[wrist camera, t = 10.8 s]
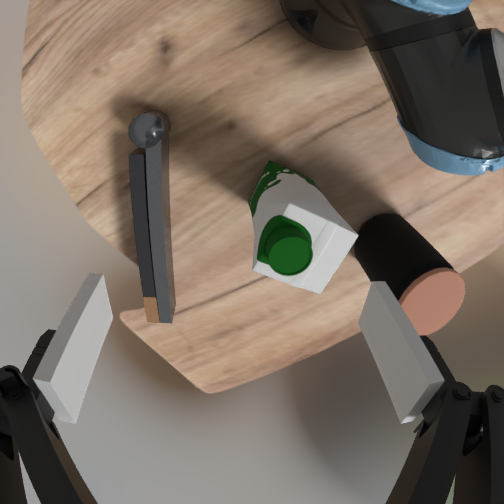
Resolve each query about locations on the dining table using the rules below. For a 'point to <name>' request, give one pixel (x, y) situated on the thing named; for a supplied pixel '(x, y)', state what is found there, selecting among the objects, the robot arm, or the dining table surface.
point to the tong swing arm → (143, 231)
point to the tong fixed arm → (158, 203)
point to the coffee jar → (410, 271)
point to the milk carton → (296, 230)
